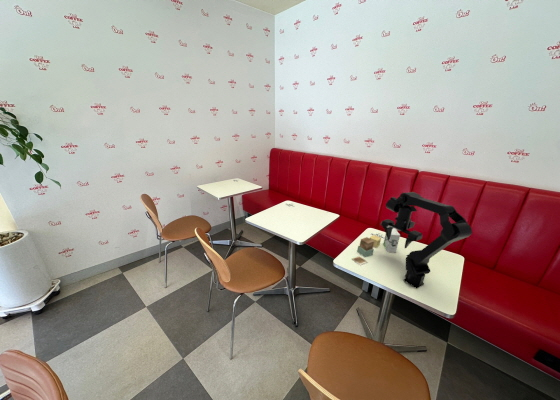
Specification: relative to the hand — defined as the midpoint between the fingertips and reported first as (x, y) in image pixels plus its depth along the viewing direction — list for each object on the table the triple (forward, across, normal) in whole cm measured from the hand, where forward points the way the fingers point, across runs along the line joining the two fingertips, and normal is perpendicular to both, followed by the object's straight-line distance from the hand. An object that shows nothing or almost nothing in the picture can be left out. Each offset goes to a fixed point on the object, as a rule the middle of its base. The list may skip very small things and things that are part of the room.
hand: (396, 243), depth 112 cm
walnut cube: (+9, +14, +5) cm, 17 cm away
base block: (+13, +14, +5) cm, 19 cm away
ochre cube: (+12, +17, -7) cm, 22 cm away
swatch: (+12, +10, +14) cm, 21 cm away
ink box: (+13, +10, -12) cm, 20 cm away
